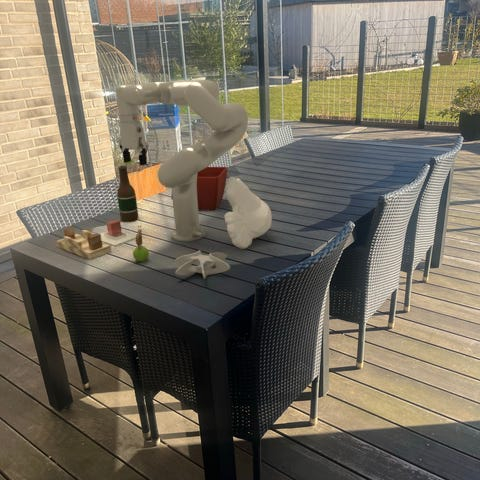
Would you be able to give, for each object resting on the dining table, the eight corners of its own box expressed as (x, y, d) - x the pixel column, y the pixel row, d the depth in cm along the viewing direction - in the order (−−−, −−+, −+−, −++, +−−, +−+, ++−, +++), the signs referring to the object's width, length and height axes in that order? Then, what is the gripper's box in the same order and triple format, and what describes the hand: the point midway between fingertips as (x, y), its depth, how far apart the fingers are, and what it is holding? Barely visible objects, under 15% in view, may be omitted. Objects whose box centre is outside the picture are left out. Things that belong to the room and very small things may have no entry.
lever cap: (126, 236, 191) (124, 221, 189) (115, 240, 187) (113, 225, 185) (114, 232, 196) (112, 218, 194) (104, 236, 193) (102, 221, 190)
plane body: (111, 251, 178) (108, 232, 175) (90, 259, 172) (87, 240, 169) (78, 239, 191) (74, 222, 189) (57, 246, 185) (54, 228, 182)
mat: (137, 237, 191) (137, 236, 190) (115, 246, 183) (115, 245, 183) (113, 230, 200) (113, 228, 200) (91, 238, 192) (90, 237, 192)
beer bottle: (121, 223, 208) (113, 169, 199) (120, 218, 215) (112, 165, 206) (139, 221, 209) (132, 167, 201) (138, 215, 216) (131, 163, 208)
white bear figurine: (248, 209, 196) (216, 170, 179) (281, 207, 186) (250, 166, 170) (228, 262, 185) (192, 225, 168) (262, 263, 175) (227, 224, 159)
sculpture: (219, 288, 147) (217, 269, 144) (162, 280, 154) (160, 262, 152) (240, 265, 162) (239, 248, 159) (188, 258, 169) (186, 242, 167)
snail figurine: (151, 256, 173) (147, 224, 168) (148, 263, 167) (144, 231, 162) (135, 256, 172) (131, 225, 168) (132, 264, 166) (128, 232, 162)
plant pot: (220, 213, 214) (218, 176, 208) (179, 212, 218) (176, 176, 212) (229, 200, 232) (227, 166, 225) (192, 200, 236) (189, 166, 229)
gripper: (152, 118, 178) (157, 163, 184) (123, 116, 189) (129, 159, 195) (136, 121, 173) (142, 167, 179) (107, 118, 183) (114, 163, 190)
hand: (135, 163), depth 187 cm, fingers open, 9 cm apart
